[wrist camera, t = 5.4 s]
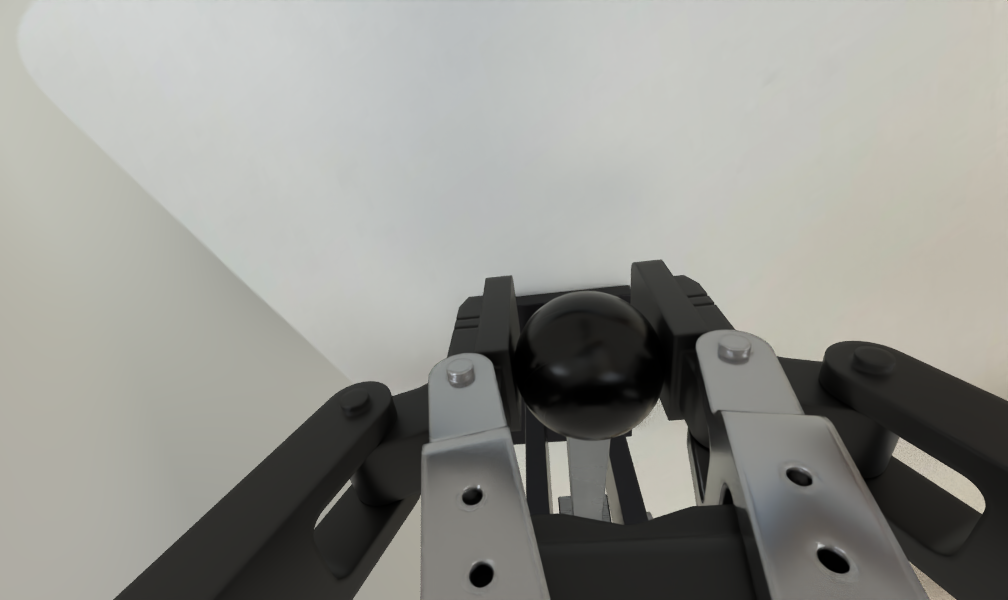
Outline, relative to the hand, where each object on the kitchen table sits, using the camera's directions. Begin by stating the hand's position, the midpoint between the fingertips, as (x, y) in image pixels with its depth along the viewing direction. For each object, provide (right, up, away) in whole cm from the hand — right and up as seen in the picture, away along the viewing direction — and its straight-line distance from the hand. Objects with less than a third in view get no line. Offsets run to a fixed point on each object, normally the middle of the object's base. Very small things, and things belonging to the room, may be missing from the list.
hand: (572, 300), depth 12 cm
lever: (+1, -5, +4) cm, 6 cm away
